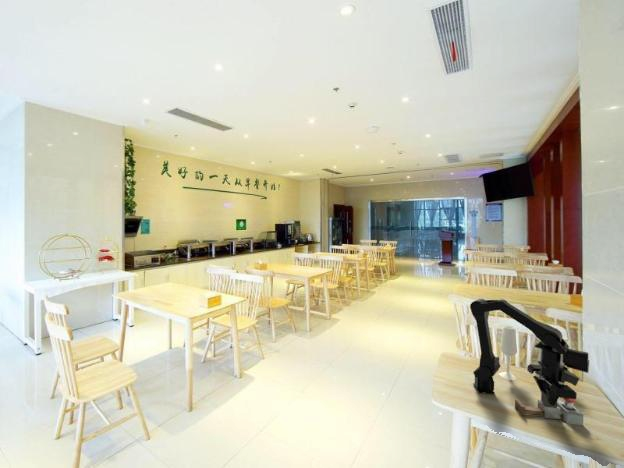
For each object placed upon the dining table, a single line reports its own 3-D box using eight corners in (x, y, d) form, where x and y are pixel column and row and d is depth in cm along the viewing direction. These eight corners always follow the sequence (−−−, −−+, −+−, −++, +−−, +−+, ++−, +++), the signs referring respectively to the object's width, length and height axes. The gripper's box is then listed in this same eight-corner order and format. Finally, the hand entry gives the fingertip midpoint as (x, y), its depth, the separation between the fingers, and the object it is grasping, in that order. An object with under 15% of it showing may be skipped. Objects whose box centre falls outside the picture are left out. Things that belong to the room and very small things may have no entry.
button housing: (567, 423, 102) (567, 412, 102) (554, 410, 109) (554, 400, 108) (583, 425, 101) (583, 414, 101) (569, 412, 108) (569, 402, 107)
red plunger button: (566, 413, 103) (567, 399, 103) (559, 407, 107) (560, 393, 106) (577, 414, 102) (578, 400, 102) (570, 408, 106) (571, 394, 106)
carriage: (544, 417, 104) (545, 396, 104) (537, 409, 108) (538, 389, 108) (560, 419, 103) (560, 398, 103) (552, 411, 108) (552, 390, 107)
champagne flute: (517, 381, 129) (519, 330, 128) (500, 378, 132) (502, 328, 131) (514, 374, 135) (516, 325, 134) (498, 371, 138) (499, 323, 137)
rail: (521, 415, 106) (521, 406, 105) (514, 408, 110) (515, 399, 110) (564, 420, 103) (565, 411, 103) (556, 412, 107) (557, 404, 107)
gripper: (595, 377, 94) (593, 422, 95) (557, 352, 113) (556, 390, 113) (558, 374, 96) (556, 417, 97) (527, 350, 115) (525, 387, 115)
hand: (549, 402), depth 106 cm, fingers closed on carriage, 3 cm apart
